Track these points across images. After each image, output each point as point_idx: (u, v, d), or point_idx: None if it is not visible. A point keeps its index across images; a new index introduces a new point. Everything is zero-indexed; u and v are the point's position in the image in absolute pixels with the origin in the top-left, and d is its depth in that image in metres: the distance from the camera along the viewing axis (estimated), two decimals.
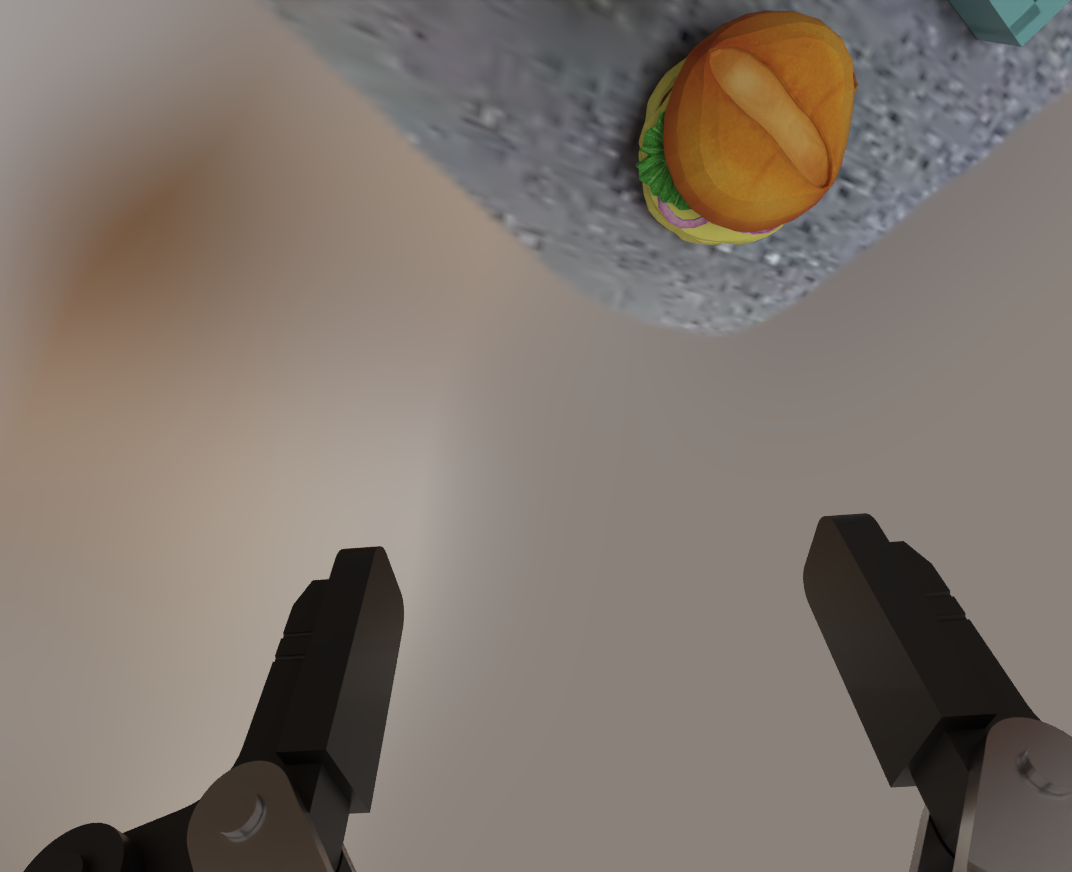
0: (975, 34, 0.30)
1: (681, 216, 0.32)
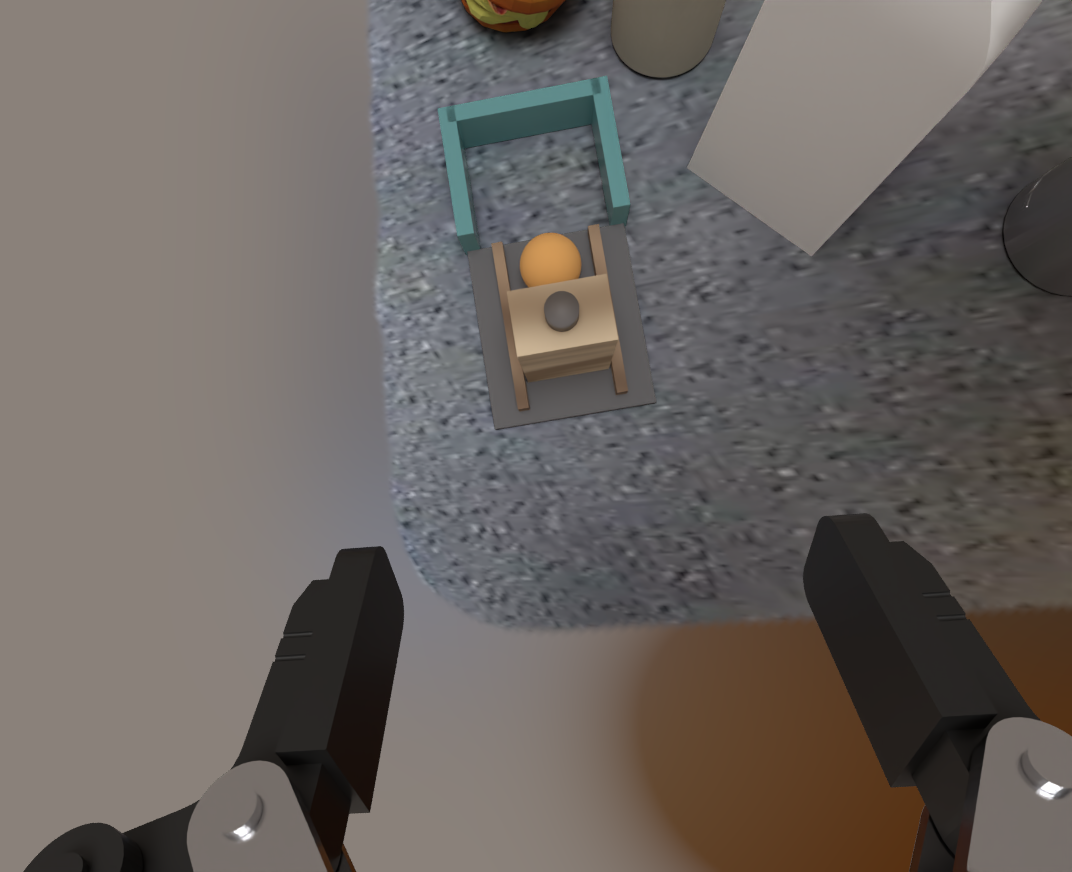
0: None
1: None
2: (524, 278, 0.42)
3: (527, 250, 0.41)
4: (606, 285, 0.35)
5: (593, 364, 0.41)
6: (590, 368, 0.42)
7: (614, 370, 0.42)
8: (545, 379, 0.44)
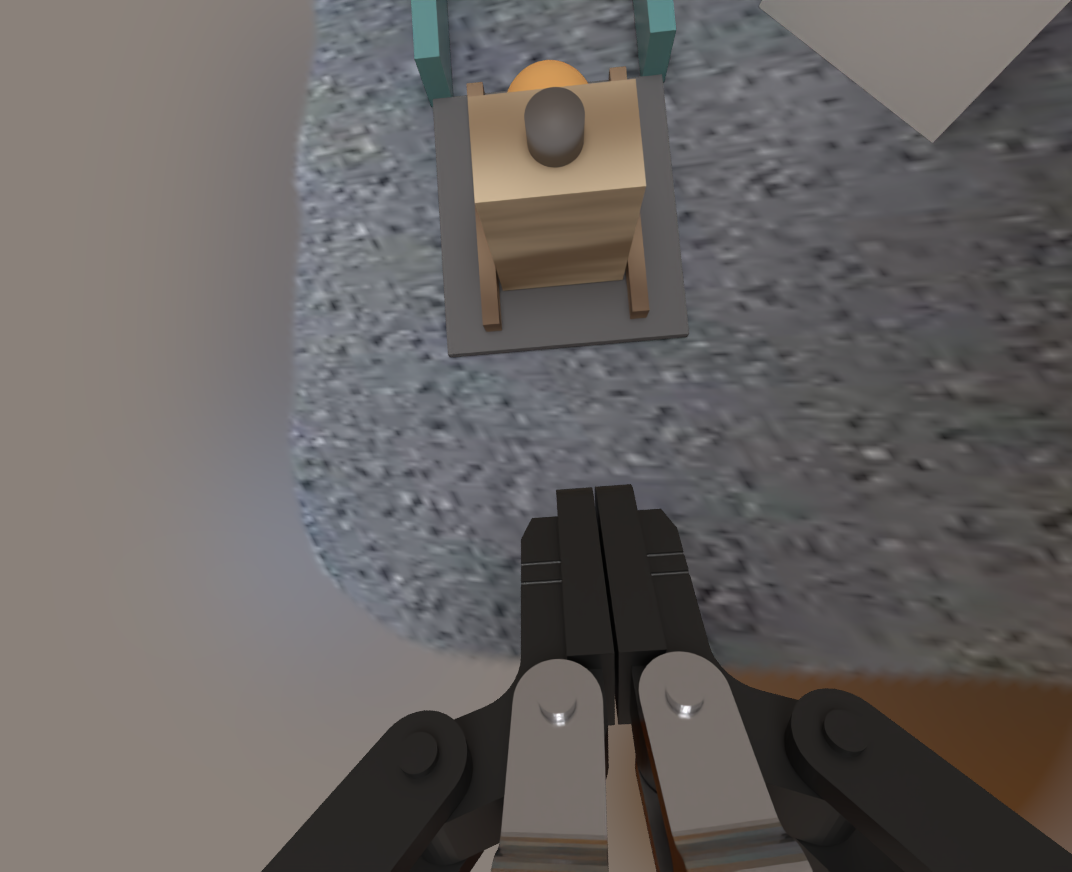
0: None
1: None
2: None
3: (516, 81, 0.27)
4: (633, 97, 0.21)
5: (600, 261, 0.27)
6: (595, 272, 0.28)
7: (631, 278, 0.28)
8: None
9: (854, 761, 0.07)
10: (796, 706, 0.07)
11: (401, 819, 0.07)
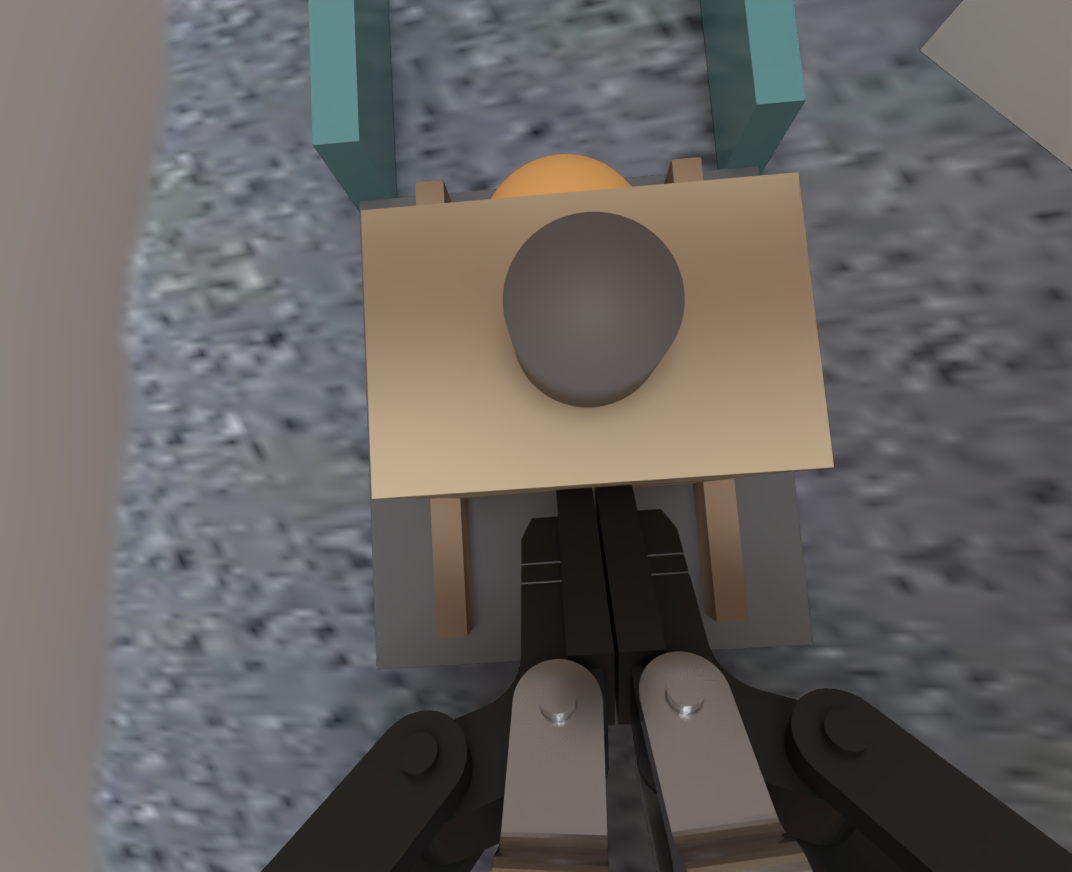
0: None
1: None
2: None
3: (501, 196, 0.14)
4: (794, 222, 0.08)
5: (658, 484, 0.14)
6: None
7: (713, 557, 0.15)
8: None
9: (854, 761, 0.07)
10: (796, 706, 0.07)
11: (401, 819, 0.07)
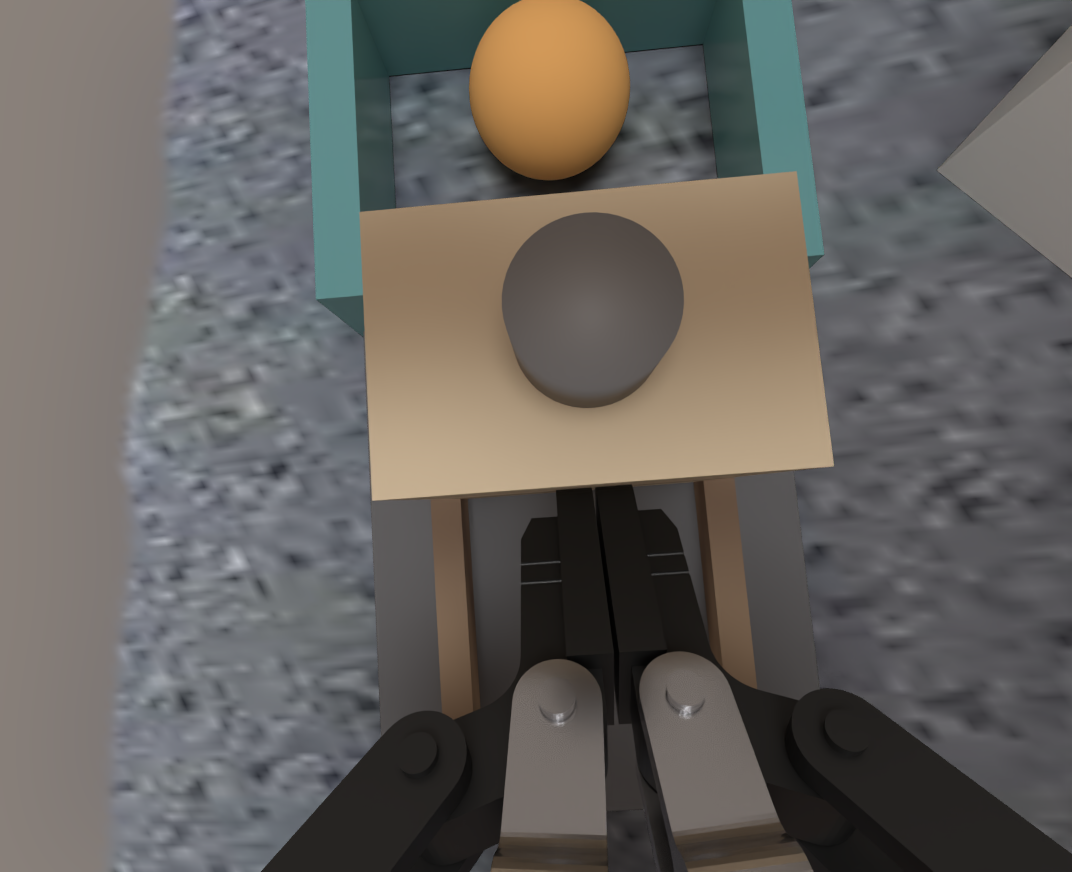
0: None
1: None
2: None
3: (503, 159, 0.16)
4: (793, 221, 0.08)
5: None
6: (643, 485, 0.15)
7: None
8: None
9: (854, 761, 0.07)
10: (796, 706, 0.07)
11: (400, 819, 0.07)
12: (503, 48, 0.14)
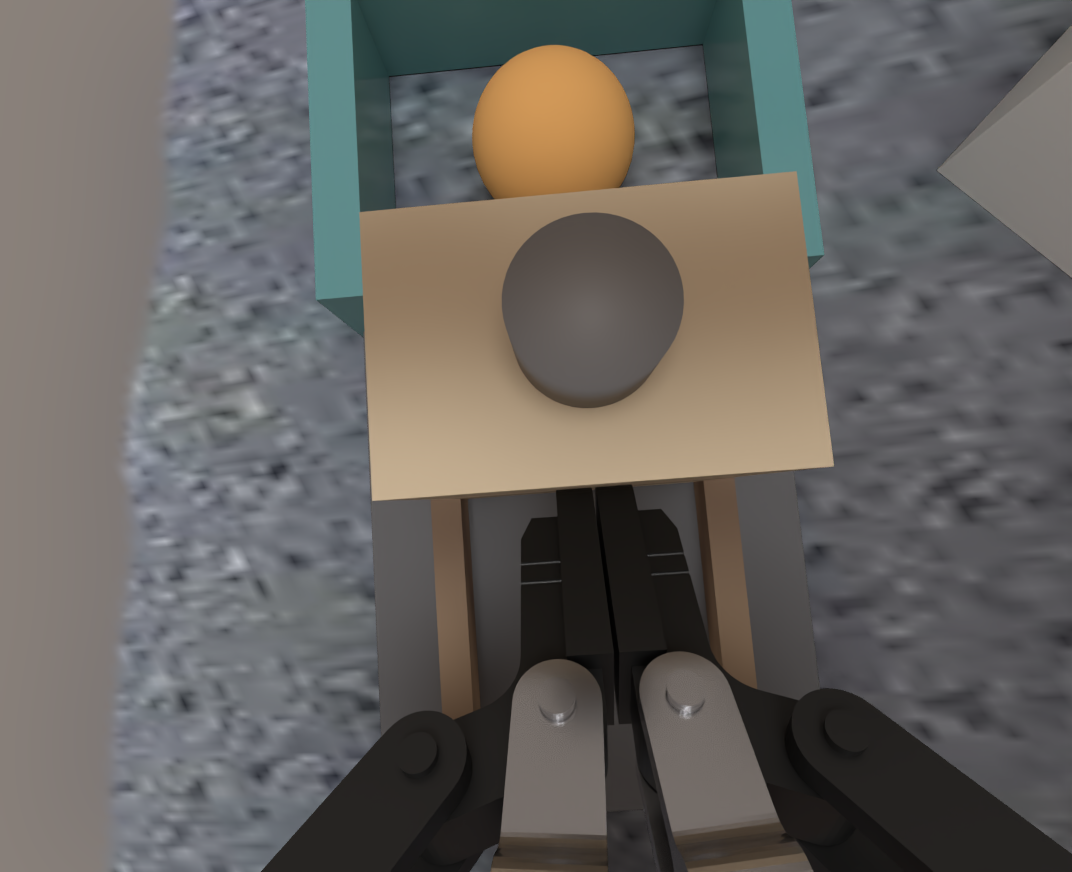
0: None
1: None
2: None
3: None
4: (793, 221, 0.08)
5: None
6: (643, 485, 0.15)
7: None
8: None
9: (854, 761, 0.07)
10: (796, 706, 0.07)
11: (400, 818, 0.07)
12: (512, 155, 0.15)
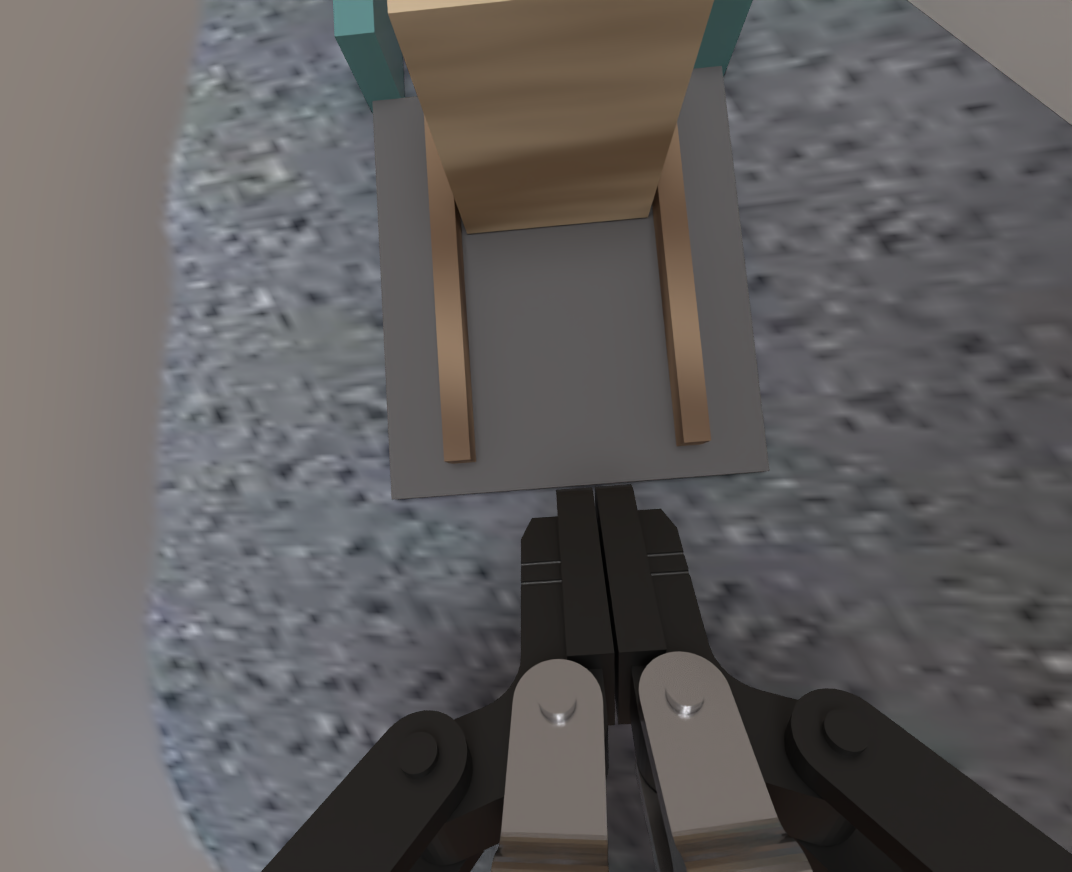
0: None
1: None
2: None
3: None
4: None
5: (618, 176, 0.17)
6: (608, 200, 0.18)
7: (681, 389, 0.18)
8: (505, 229, 0.20)
9: (854, 761, 0.07)
10: (796, 706, 0.07)
11: (401, 819, 0.07)
12: None
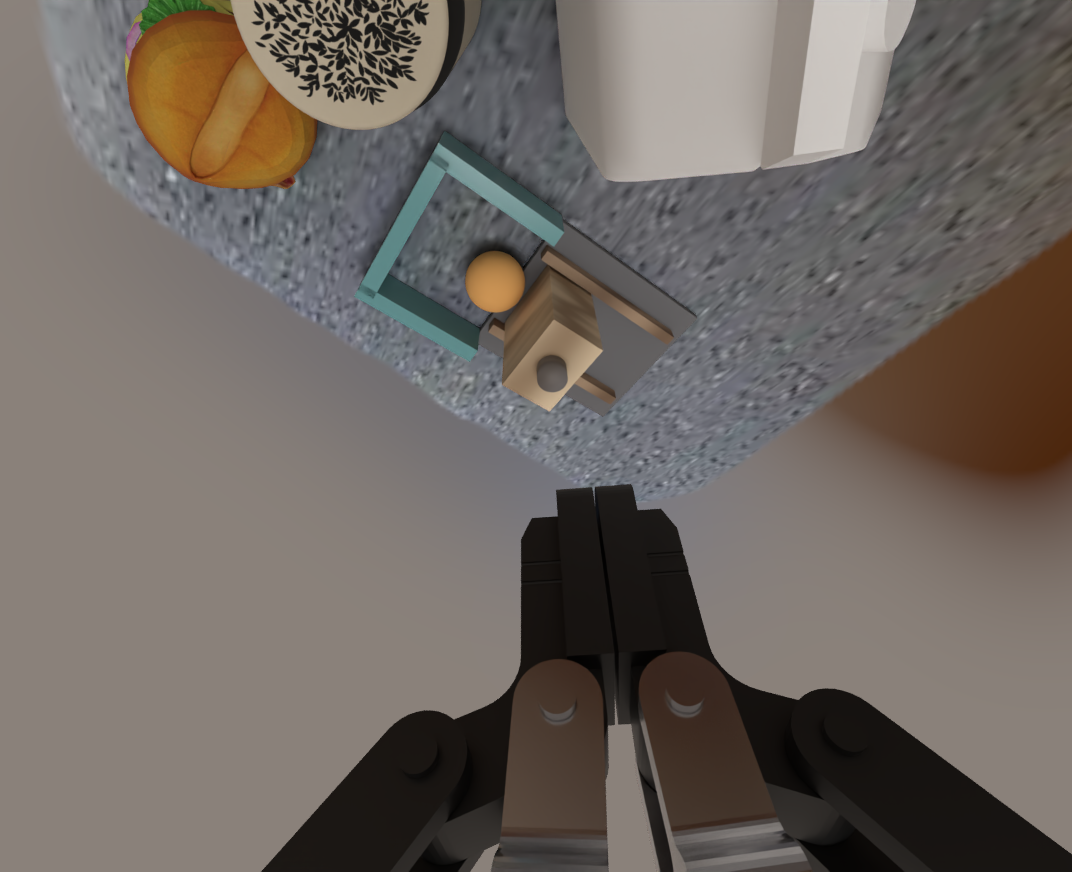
0: None
1: None
2: None
3: None
4: (561, 327, 0.38)
5: None
6: None
7: (653, 333, 0.47)
8: None
9: (854, 761, 0.07)
10: (796, 706, 0.07)
11: (401, 819, 0.07)
12: None
